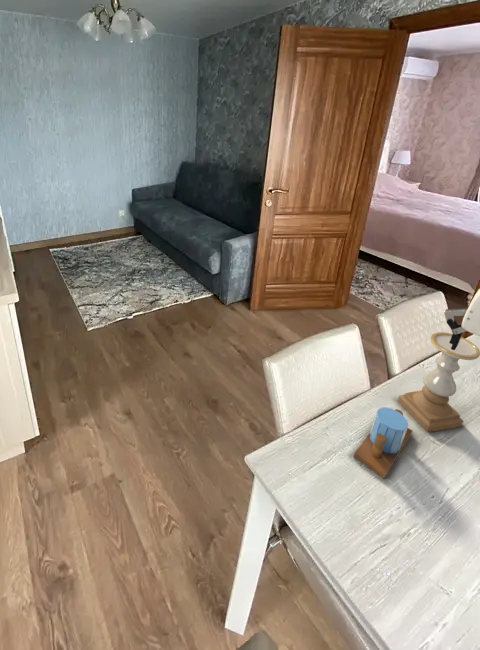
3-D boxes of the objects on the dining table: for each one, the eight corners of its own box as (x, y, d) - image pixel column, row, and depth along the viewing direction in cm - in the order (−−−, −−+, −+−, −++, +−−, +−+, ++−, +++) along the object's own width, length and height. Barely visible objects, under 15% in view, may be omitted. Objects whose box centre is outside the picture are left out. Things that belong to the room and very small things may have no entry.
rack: (382, 417, 96) (389, 397, 93) (410, 434, 91) (418, 413, 88) (353, 457, 85) (359, 435, 82) (383, 479, 80) (391, 456, 77)
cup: (399, 437, 88) (407, 414, 85) (400, 458, 83) (408, 434, 80) (370, 425, 91) (377, 403, 88) (369, 445, 86) (376, 422, 83)
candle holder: (428, 395, 103) (453, 329, 94) (462, 426, 93) (494, 355, 84) (396, 399, 101) (419, 332, 92) (427, 432, 91) (456, 360, 82)
